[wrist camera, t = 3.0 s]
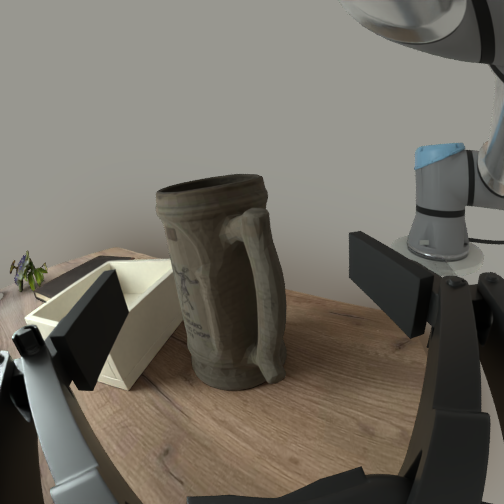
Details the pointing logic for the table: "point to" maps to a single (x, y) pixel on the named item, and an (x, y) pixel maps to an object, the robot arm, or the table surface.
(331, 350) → the table surface
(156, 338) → the open storage bin
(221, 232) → the beer stein
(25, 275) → the passion flower
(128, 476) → the table surface
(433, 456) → the robot arm
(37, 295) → the hardcover book
